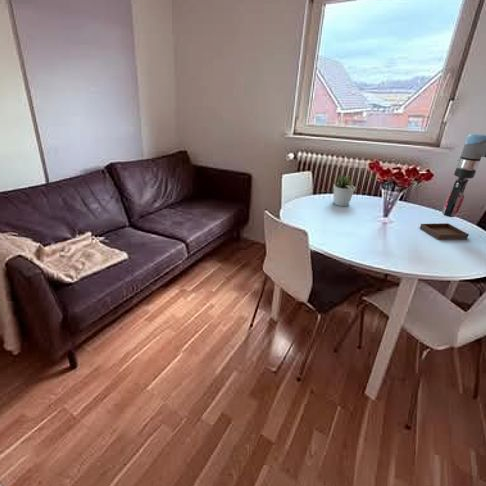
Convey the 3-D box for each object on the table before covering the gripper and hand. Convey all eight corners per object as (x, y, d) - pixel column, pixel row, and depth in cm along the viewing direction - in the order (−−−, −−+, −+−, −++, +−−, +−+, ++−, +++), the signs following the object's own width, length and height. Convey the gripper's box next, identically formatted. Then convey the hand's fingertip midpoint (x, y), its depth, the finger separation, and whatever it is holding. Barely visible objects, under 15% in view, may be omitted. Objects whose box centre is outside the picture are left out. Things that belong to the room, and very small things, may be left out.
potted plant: (327, 199, 203) (333, 169, 195) (350, 201, 200) (356, 171, 191) (329, 206, 192) (334, 174, 184) (352, 208, 189) (360, 176, 180)
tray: (467, 239, 153) (468, 234, 152) (437, 239, 152) (439, 234, 151) (446, 227, 165) (448, 223, 164) (419, 228, 164) (421, 223, 163)
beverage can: (459, 217, 152) (468, 194, 147) (449, 218, 151) (458, 195, 146) (448, 212, 158) (456, 190, 153) (438, 213, 157) (446, 191, 152)
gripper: (462, 163, 153) (446, 207, 162) (450, 169, 141) (434, 216, 151) (481, 167, 147) (464, 211, 157) (470, 173, 136) (452, 221, 146)
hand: (449, 214), depth 154 cm, fingers closed on beverage can, 6 cm apart
